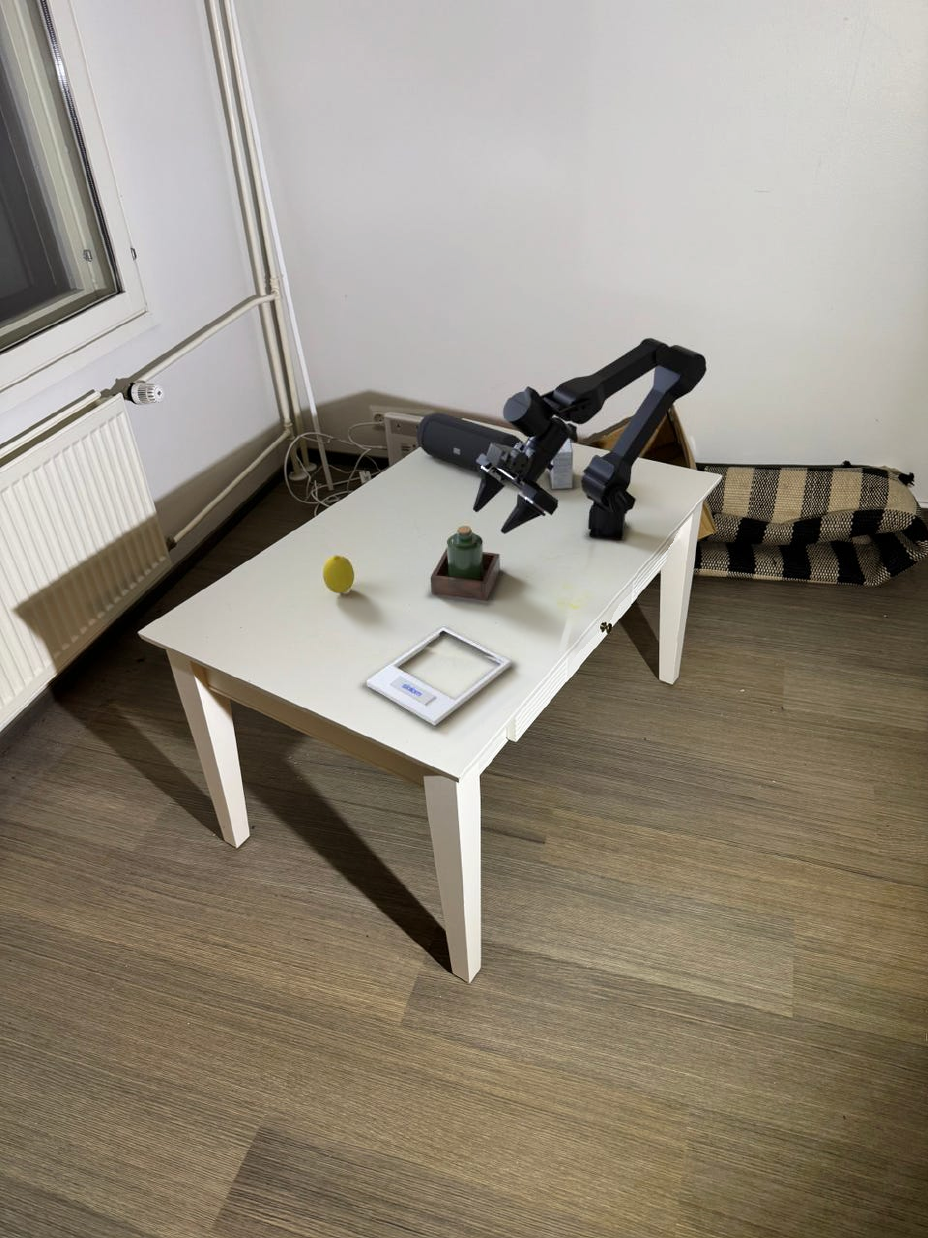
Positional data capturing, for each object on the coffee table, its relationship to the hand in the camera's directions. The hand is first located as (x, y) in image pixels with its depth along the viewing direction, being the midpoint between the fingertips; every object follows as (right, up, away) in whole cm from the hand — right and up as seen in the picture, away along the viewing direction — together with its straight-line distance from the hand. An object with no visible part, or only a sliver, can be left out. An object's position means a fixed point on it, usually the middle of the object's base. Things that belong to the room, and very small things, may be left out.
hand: (488, 521), depth 156 cm
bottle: (-4, -10, +5) cm, 12 cm away
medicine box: (+17, +13, +36) cm, 41 cm away
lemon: (-27, -13, +4) cm, 30 cm away
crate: (-4, -11, +5) cm, 12 cm away
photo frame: (-8, -26, -16) cm, 32 cm away
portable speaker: (-3, +17, +43) cm, 46 cm away
